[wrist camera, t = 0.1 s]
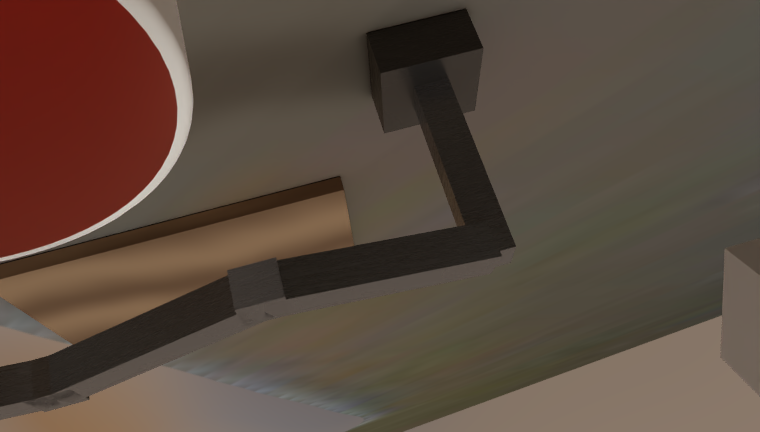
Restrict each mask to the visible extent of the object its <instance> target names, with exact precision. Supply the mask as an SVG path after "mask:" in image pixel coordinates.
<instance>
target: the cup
mask: <svg viewBox="0 0 760 432" xmlns="http://www.w3.org/2000/svg"><path fill="white" fill-rule="evenodd" d="M192 112H193V91H192V82H191V75H190V70H189V65H188V59H187V54H186V49H185V44H184V38H183V33H182V28H181V23H180V18H179V12H178V7H177V2H176V0H0V261H4V260H9V259H14V258H18V257H21V256H25V255H29V254H33V253H36V252H39V251H43V250H46V249H49V248H52V247H55V246H58V245H61V244H63V243H66V242H69V241H71V240H74V239H76V238H78V237H81V236H83V235H86V234H88V233H90V232H92V231H94V230H96V229H98V228H100V227H102V226H104V225H106V224H107V223H109V222H111V221H113V220H114V219H116V218H118V217H119V216H121V215H122V214H123V213H125V212H126V211H128V210H129V209H131V208H132V207H133V206H135V205H136V204H138V203H139V202H141V201H142V200H143V199H144V198H145V197H146V196H147V195H148V194H150V193H151V192H152V191H153V190H154V189H155V188H156V187H157V186H158V184H159V183H160V182H161V181H162V180H163V179H164V178H165V177H166V176H167V174H168V173H169V171H170V170H171V168H172V167H173V166H174V164H175V163H176V161H177V160H178V157H179V155H180V153H181V151H182V149H183V147H184V145H185V143H186V140H187V137H188V133H189V130H190V126H191V122H192Z"/></svg>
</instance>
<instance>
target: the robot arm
mask: <svg viewBox="0 0 760 432" xmlns="http://www.w3.org/2000/svg"><path fill="white" fill-rule="evenodd" d="M721 358H722V359H723V360H724V361H725V362H726V363H727V364H728V365H729V366H730V367H731V368H732V369H733V370H734V371H735V372H736V373H737V374H738V375H739V376H740V377H741V378H742V379H743V380H744V381H745V382H746V383H747V384H748V385H749V386H750V387H751V388H752V389H753V390H754V391H755V392H756V393H757V394H758V395H759V396H760V238H758V239H755V240H751V241H748V242H745V243H741V244H738V245H735V246H731V247H728V248H725V256H724V281H723V307H722V332H721Z"/></svg>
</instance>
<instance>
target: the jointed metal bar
mask: <svg viewBox="0 0 760 432" xmlns="http://www.w3.org/2000/svg"><path fill="white" fill-rule="evenodd" d="M367 44H368V55H369V67H370V79H371V90H372V98H373V101H374V104H375V107H376V110H377V113H378V116H379V119H380V122H381V125H382V128H383V131H384V133H387V132H391V131H395V130H399V129H403V128H407V127H411V126H415V125H419V124H420V125H421V128H422V131H423V134H424V136H425V139H426V142H427V145H428V147H429V150H430V153H431V156H432V158H433V161H434V164H435V167H436V169H437V172H438V175H439V178H440V180H441V183H442V186H443V189H444V192H445V194H446V197H447V200H448V203H449V205H450V208H451V211H452V214H453V216H454V219H455V222H456V225H457V227H453V228H448V229H442V230H437V231H431V232H426V233H421V234H415V235H410V236H405V237H399V238H394V239H388V240H383V241H378V242H372V243H367V244H361V245H356V246H351V247H345V248H340V249H334V250H329V251H324V252H318V253H313V254H308V255H302V256H297V257H291V258H286V259H281V260H277V258H276V257H275V258H271V259H267V260H264V261H260V262H256V263H252V264H249V265H245V266H241V267H237V268H234V269H230V270H227V273H228V275H227V276H225V277H223V278H220V279H218V280H216V281H214V282H211V283H209V284H207V285H205V286H203V287H200V288H198V289H196V290H194V291H191V292H189V293H187V294H185V295H183V296H180V297H178V298H176V299H174V300H171V301H169V302H167V303H165V304H163V305H160V306H158V307H156V308H154V309H151V310H149V311H147V312H145V313H143V314H140V315H138V316H136V317H134V318H131V319H129V320H127V321H125V322H123V323H120V324H118V325H116V326H114V327H112V328H109V329H107V330H105V331H103V332H100V333H98V334H96V335H94V336H92V337H89V338H87V339H85V340H83V341H80V342H78V343H76V344H74V345H72V346H69V347H67V348H65V349H63V350H60V351H59V352H56V353H54V354H52V355H49V356H46V357H42V358H39V359H35V360H32V361H27V362H22V363H17V364H12V365H7V366H2V367H0V420H1V419H6V418H11V417H15V416H19V415H24V414H28V413H33V412H38V411H44V412H47V411H50V410H53V409H57V408H61V407H65V406H68V405H71V404H75V403H79V402H83V401H86V400H89V396H90V395H92V394H95V393H97V392H99V391H102V390H104V389H106V388H109V387H111V386H114V385H116V384H118V383H120V382H123V381H125V380H128V379H130V378H132V377H135V376H137V375H139V374H142V373H144V372H146V371H149V370H151V369H154V368H156V367H158V366H161V365H163V364H165V363H168V362H170V361H172V360H175V359H177V358H179V357H182V356H184V355H186V354H189V353H191V352H193V351H196V350H198V349H201V348H203V347H205V346H208V345H210V344H212V343H215V342H217V341H219V340H222V339H224V338H226V337H229V336H231V335H233V334H236V333H238V332H241V331H243V330H245V329H248V328H250V327H252V326H255V325H257V324H259V323H262V322H264V321H267V320H271V319H274V318H278V317H282V316H286V315H291V314H296V313H301V312H306V311H311V310H315V309H320V308H325V307H330V306H335V305H340V304H345V303H349V302H354V301H359V300H364V299H369V298H374V297H379V296H383V295H388V294H393V293H398V292H403V291H408V290H413V289H417V288H422V287H427V286H432V285H437V284H442V283H447V282H451V281H456V280H461V279H466V278H471V277H476V276H481V275H485V274H490V273H492V271H493V270H494V268H495V267H496V266H500V265H504V264H507V263H511V261H512V258H513V255H514V252H515V248H516V245H515V243H514V240H513V238H512V235H511V233H510V230H509V228H508V225H507V223H506V220H505V218H504V215H503V213H502V210H501V208H500V205H499V203H498V200H497V198H496V195H495V193H494V190H493V188H492V185H491V183H490V180H489V178H488V175H487V173H486V170H485V168H484V165H483V163H482V160H481V158H480V155H479V153H478V150H477V148H476V145H475V143H474V140H473V138H472V135H471V133H470V130H469V128H468V125H467V123H466V120H465V118H464V115H463V113H466V112H470V111H474V110H475V106H476V98H477V91H478V84H479V76H480V69H481V62H482V54H483V46H482V44H481V42H480V39H479V37H478V35H477V33H476V30H475V28H474V26H473V23H472V21H471V19H470V17H469V14H468V12H467V10H466V9H465V10H461V11H457V12H453V13H449V14H445V15H440V16H436V17H432V18H428V19H424V20H420V21H416V22H412V23H407V24H403V25H399V26H395V27H391V28H387V29H383V30H379V31H374V32H370V33H367Z"/></svg>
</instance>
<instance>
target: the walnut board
mask: <svg viewBox="0 0 760 432" xmlns="http://www.w3.org/2000/svg"><path fill="white" fill-rule="evenodd" d="M351 246H354V243H353V237H352V232H351V226H350V221H349V215H348V210H347V204H346V199H345V193H344V188H343V185H342V182H341V178H340V177H337V178H333V179H329V180H325V181H321V182H317V183H313V184H310V185H306V186H302V187H298V188H294V189H290V190H286V191H282V192H279V193H275V194H271V195H267V196H263V197H259V198H255V199H252V200H248V201H244V202H240V203H236V204H232V205H228V206H224V207H221V208H217V209H213V210H209V211H205V212H201V213H197V214H194V215H190V216H186V217H182V218H178V219H174V220H170V221H167V222H163V223H159V224H155V225H151V226H147V227H143V228H139V229H136V230H132V231H128V232H124V233H120V234H116V235H112V236H109V237H105V238H101V239H97V240H93V241H89V242H85V243H81V244H78V245H74V246H70V247H66V248H62V249H58V250H54V251H51V252H47V253H43V254H39V255H35V256H31V257H27V258H24V259H20V260H16V261H12V262H8V263H4V264H0V297H2V298H3V299H5V300H6V301H8V302H9V303H11V304H12V305H14V306H15V307H17V308H18V309H20V310H22V311H23V312H25V313H26V314H28V315H29V316H31V317H32V318H34V319H35V320H37V321H38V322H40V323H41V324H43V325H44V326H46V327H47V328H49V329H50V330H52V331H53V332H55V333H56V334H58V335H59V336H61V337H62V338H64V339H65V340H67V341H69V342H70V343H72V344H73V345H74V344H76V343H78V342H80V341H83V340H85V339H87V338H89V337H92V336H94V335H96V334H98V333H100V332H103V331H105V330H107V329H109V328H112V327H114V326H116V325H118V324H120V323H123V322H125V321H127V320H129V319H131V318H134V317H136V316H138V315H140V314H143V313H145V312H147V311H149V310H151V309H154V308H156V307H158V306H160V305H163V304H165V303H167V302H169V301H171V300H174V299H176V298H178V297H180V296H183V295H185V294H187V293H189V292H191V291H194V290H196V289H198V288H200V287H203V286H205V285H207V284H209V283H211V282H214V281H216V280H218V279H220V278H223V277H225V276H227V275H228V273H227V270H230V269H234V268H237V267H241V266H245V265H249V264H252V263H256V262H260V261H264V260H267V259H271V258H275V257H276V258H277V260H281V259H286V258H291V257H297V256H302V255H308V254H313V253H318V252H324V251H329V250H334V249H340V248H345V247H351Z"/></svg>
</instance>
